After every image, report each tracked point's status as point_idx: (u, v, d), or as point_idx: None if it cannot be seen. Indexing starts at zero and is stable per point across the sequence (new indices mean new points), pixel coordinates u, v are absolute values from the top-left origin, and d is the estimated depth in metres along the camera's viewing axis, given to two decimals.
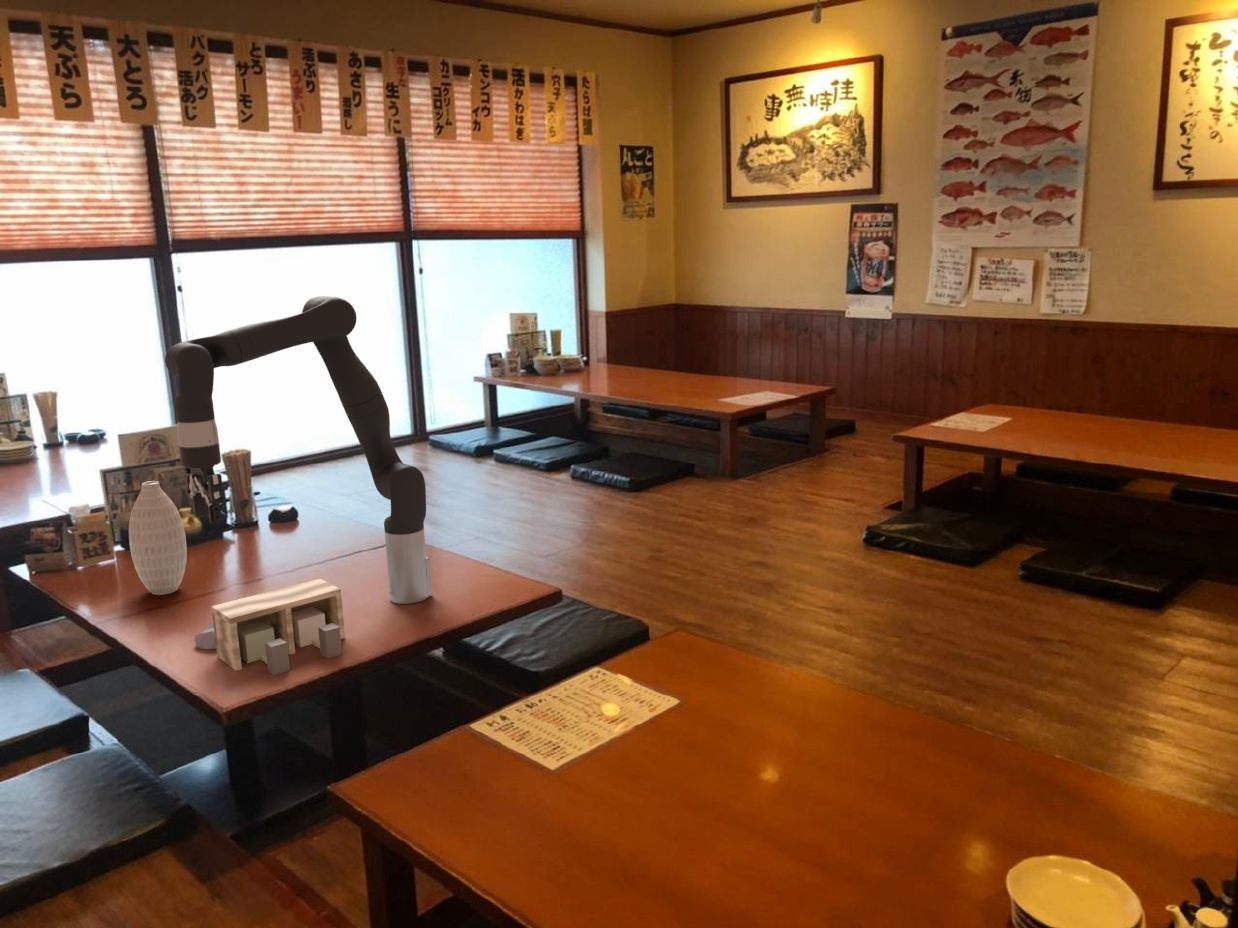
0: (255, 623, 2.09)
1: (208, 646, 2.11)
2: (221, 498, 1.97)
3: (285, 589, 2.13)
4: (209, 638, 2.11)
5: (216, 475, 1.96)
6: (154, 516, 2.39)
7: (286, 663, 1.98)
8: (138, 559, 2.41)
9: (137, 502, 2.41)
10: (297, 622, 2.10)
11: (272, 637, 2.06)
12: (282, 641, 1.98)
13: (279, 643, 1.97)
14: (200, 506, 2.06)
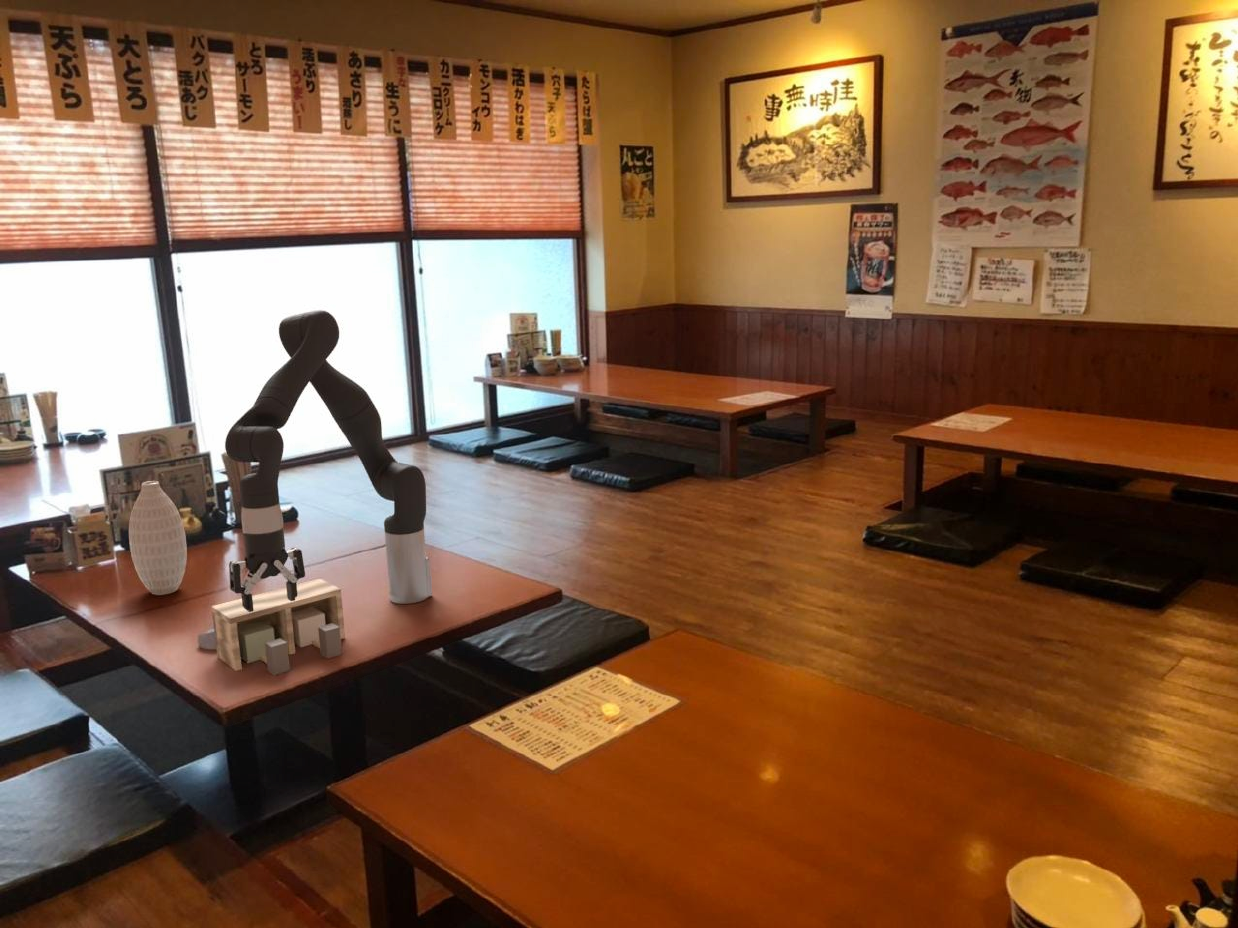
0: (255, 623, 2.09)
1: (211, 646, 2.11)
2: None
3: (285, 589, 2.13)
4: (212, 639, 2.11)
5: None
6: (154, 516, 2.39)
7: (286, 663, 1.98)
8: (138, 559, 2.41)
9: (137, 502, 2.41)
10: (297, 622, 2.10)
11: (272, 637, 2.06)
12: (282, 641, 1.98)
13: (279, 643, 1.97)
14: None
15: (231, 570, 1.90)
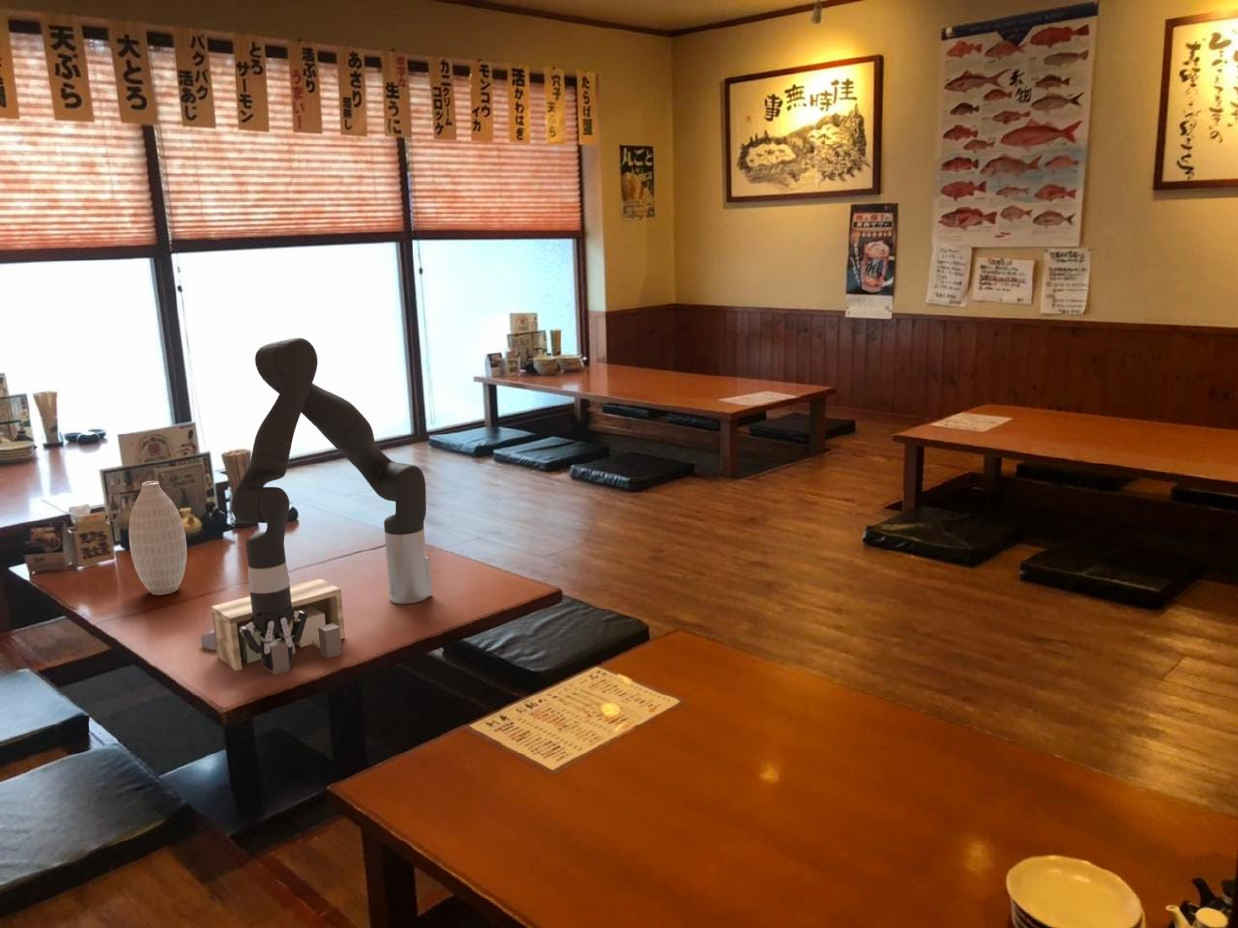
0: None
1: (215, 646, 2.11)
2: (295, 633, 2.01)
3: None
4: None
5: None
6: (154, 516, 2.39)
7: (286, 663, 1.98)
8: (138, 559, 2.41)
9: (137, 502, 2.41)
10: None
11: (272, 637, 2.06)
12: (282, 641, 1.98)
13: (279, 643, 1.97)
14: None
15: (243, 636, 1.93)
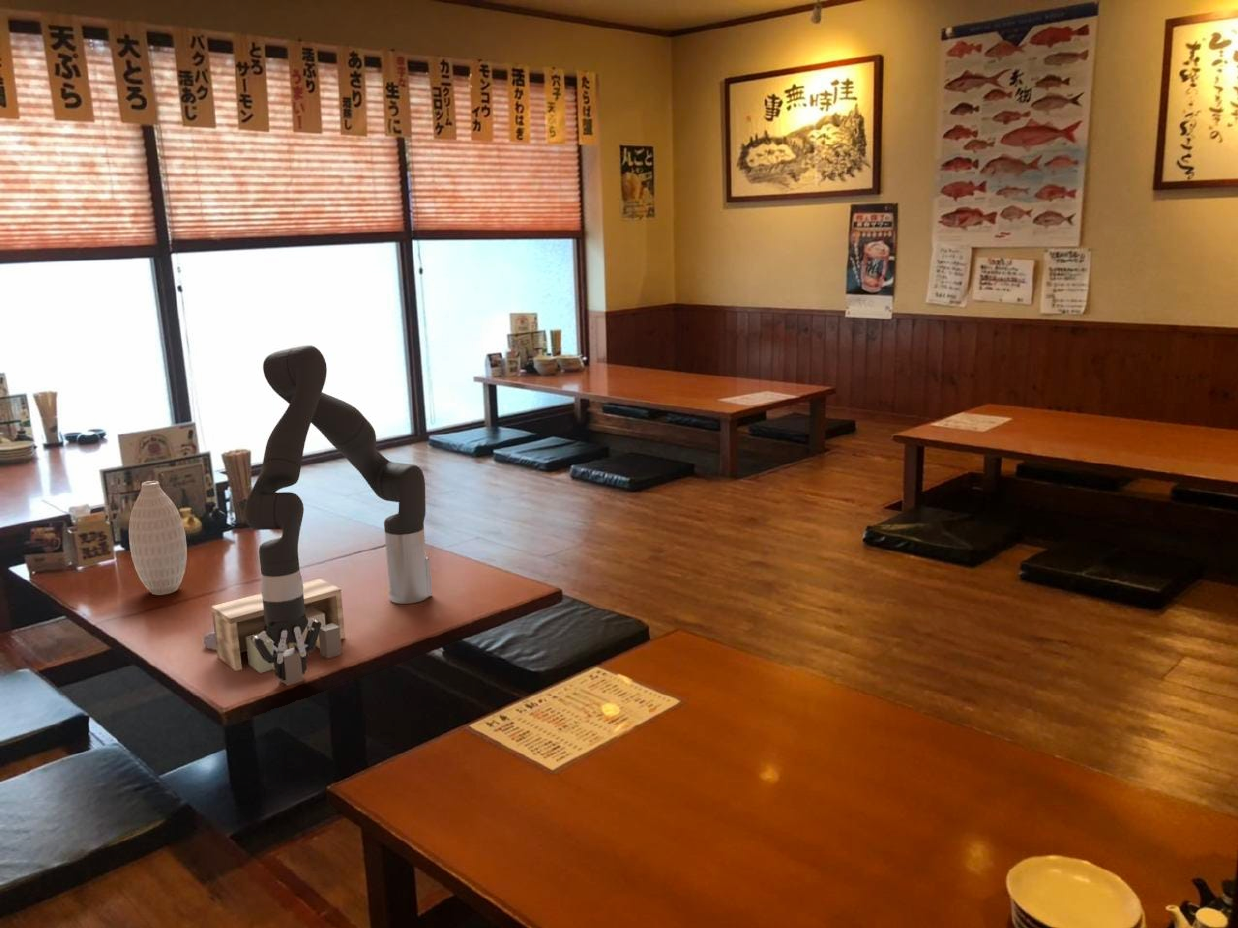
0: None
1: None
2: (309, 643, 1.96)
3: None
4: None
5: None
6: (154, 516, 2.39)
7: (299, 673, 1.93)
8: (138, 559, 2.41)
9: (137, 502, 2.41)
10: None
11: (285, 646, 2.01)
12: (295, 651, 1.93)
13: (292, 653, 1.92)
14: None
15: (256, 645, 1.88)
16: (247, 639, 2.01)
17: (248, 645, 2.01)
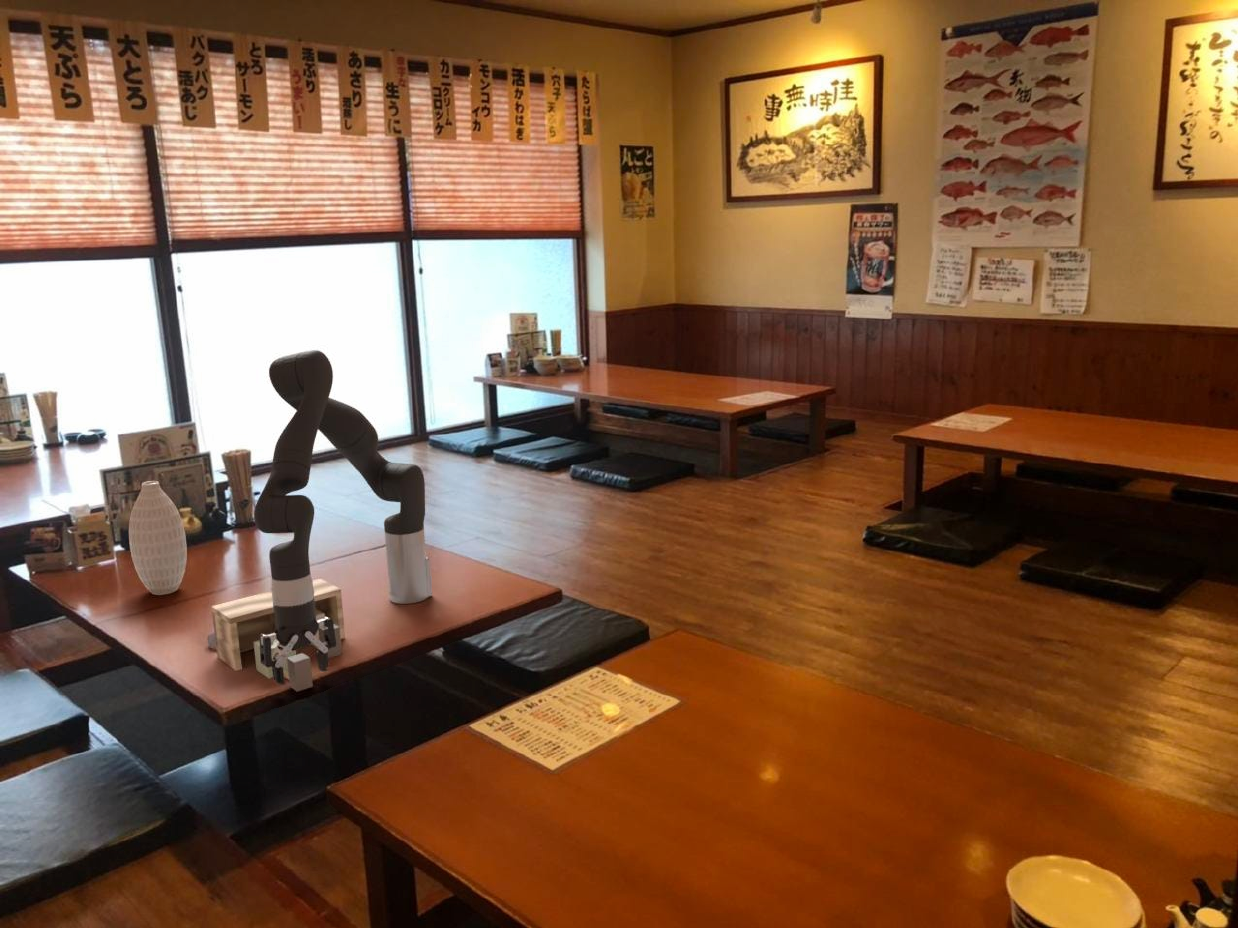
0: None
1: None
2: None
3: None
4: None
5: (327, 617, 1.93)
6: (154, 516, 2.39)
7: (309, 679, 1.90)
8: (138, 559, 2.41)
9: (137, 502, 2.41)
10: None
11: (293, 651, 1.98)
12: (305, 656, 1.90)
13: (301, 659, 1.89)
14: None
15: (261, 643, 1.84)
16: (255, 644, 1.98)
17: (256, 650, 1.98)
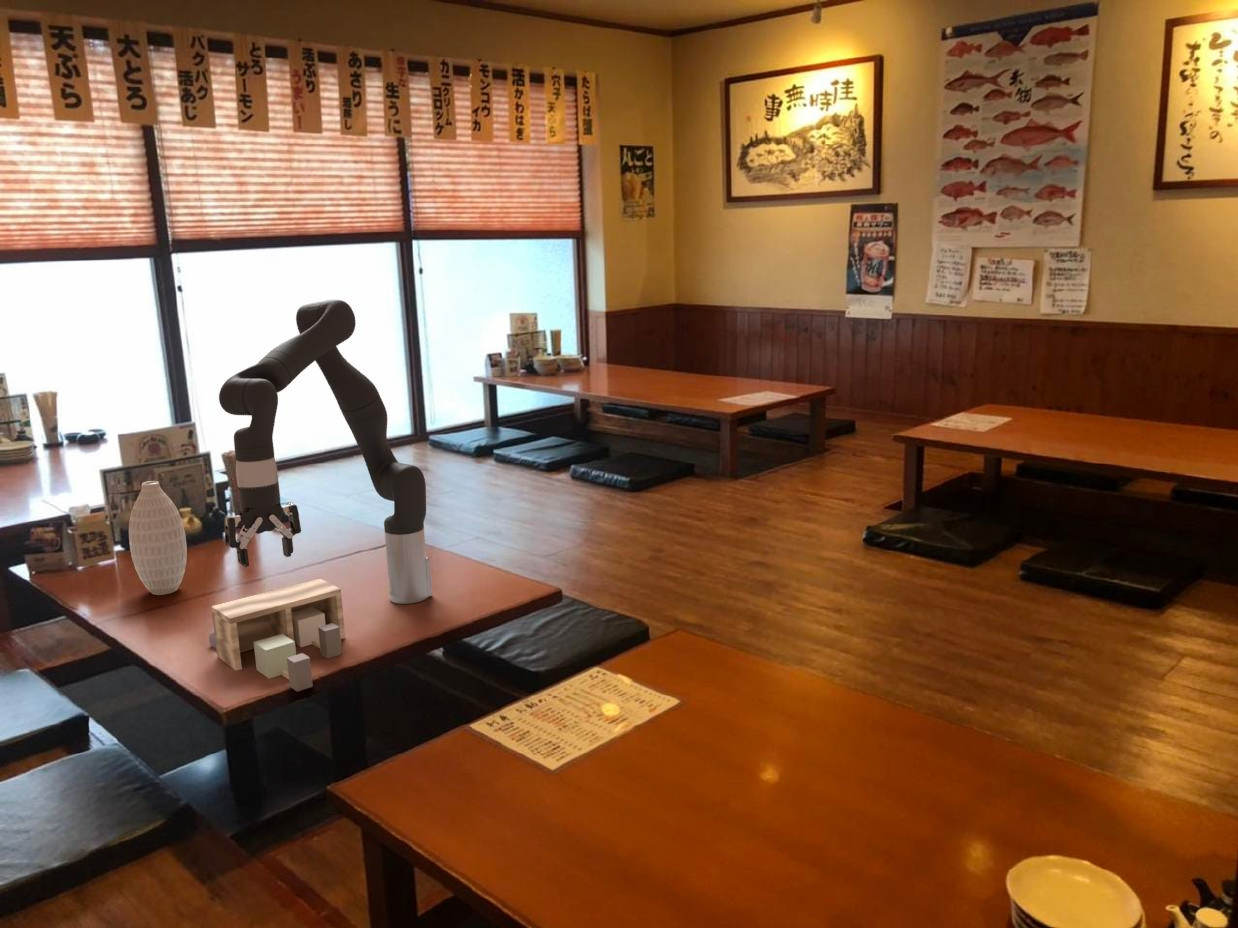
0: (275, 636, 2.01)
1: None
2: None
3: (285, 589, 2.13)
4: None
5: (292, 504, 1.97)
6: (154, 516, 2.39)
7: (309, 679, 1.90)
8: (138, 559, 2.41)
9: (137, 502, 2.41)
10: (297, 622, 2.10)
11: (293, 651, 1.98)
12: (305, 656, 1.90)
13: (301, 659, 1.89)
14: None
15: (226, 524, 1.88)
16: (255, 644, 1.98)
17: (256, 650, 1.98)
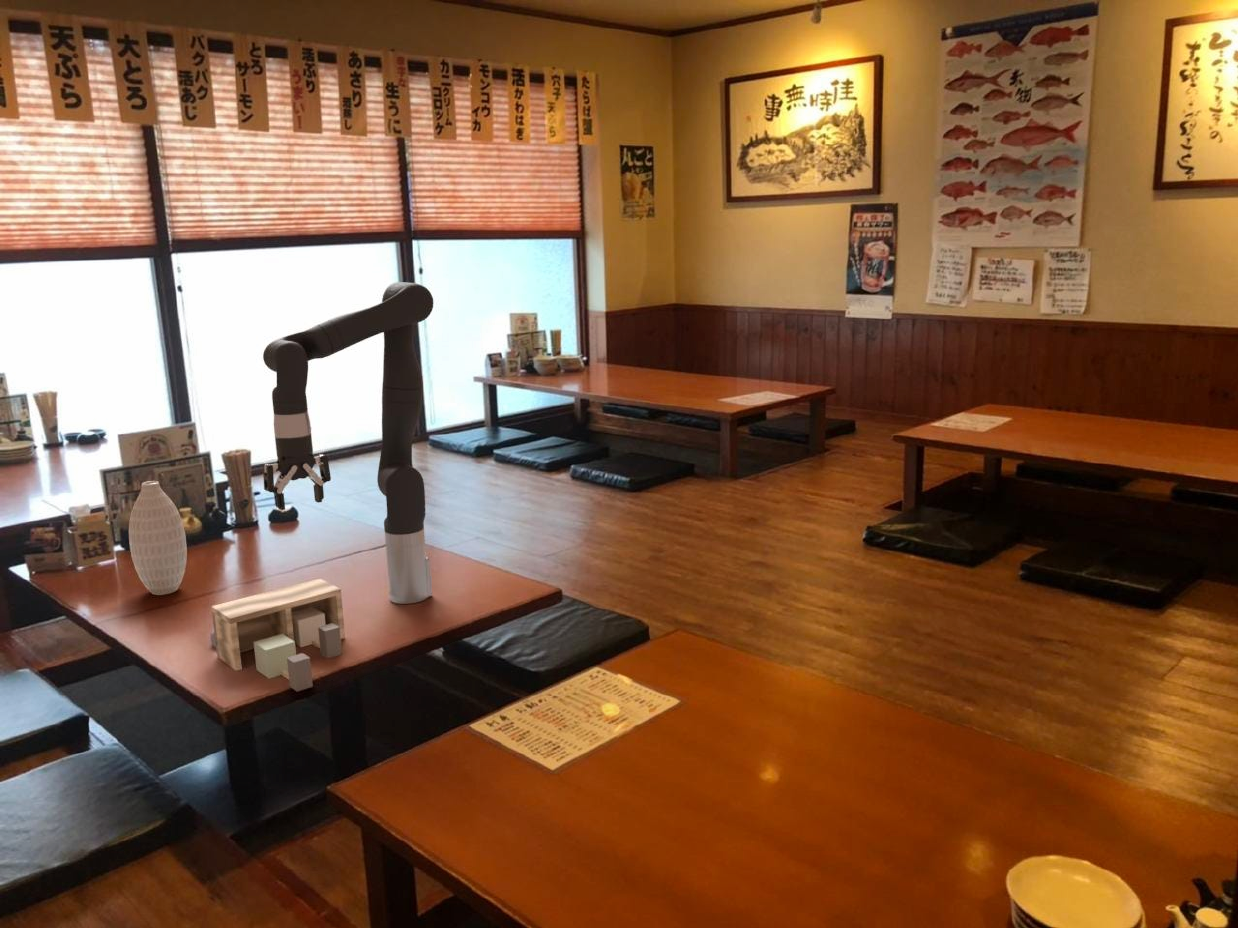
0: (275, 636, 2.01)
1: None
2: None
3: (285, 589, 2.13)
4: None
5: None
6: (154, 516, 2.39)
7: (309, 679, 1.90)
8: (138, 559, 2.41)
9: (137, 502, 2.41)
10: (297, 622, 2.10)
11: (293, 651, 1.98)
12: (305, 656, 1.90)
13: (301, 659, 1.89)
14: None
15: (265, 471, 2.10)
16: (255, 644, 1.98)
17: (256, 650, 1.98)
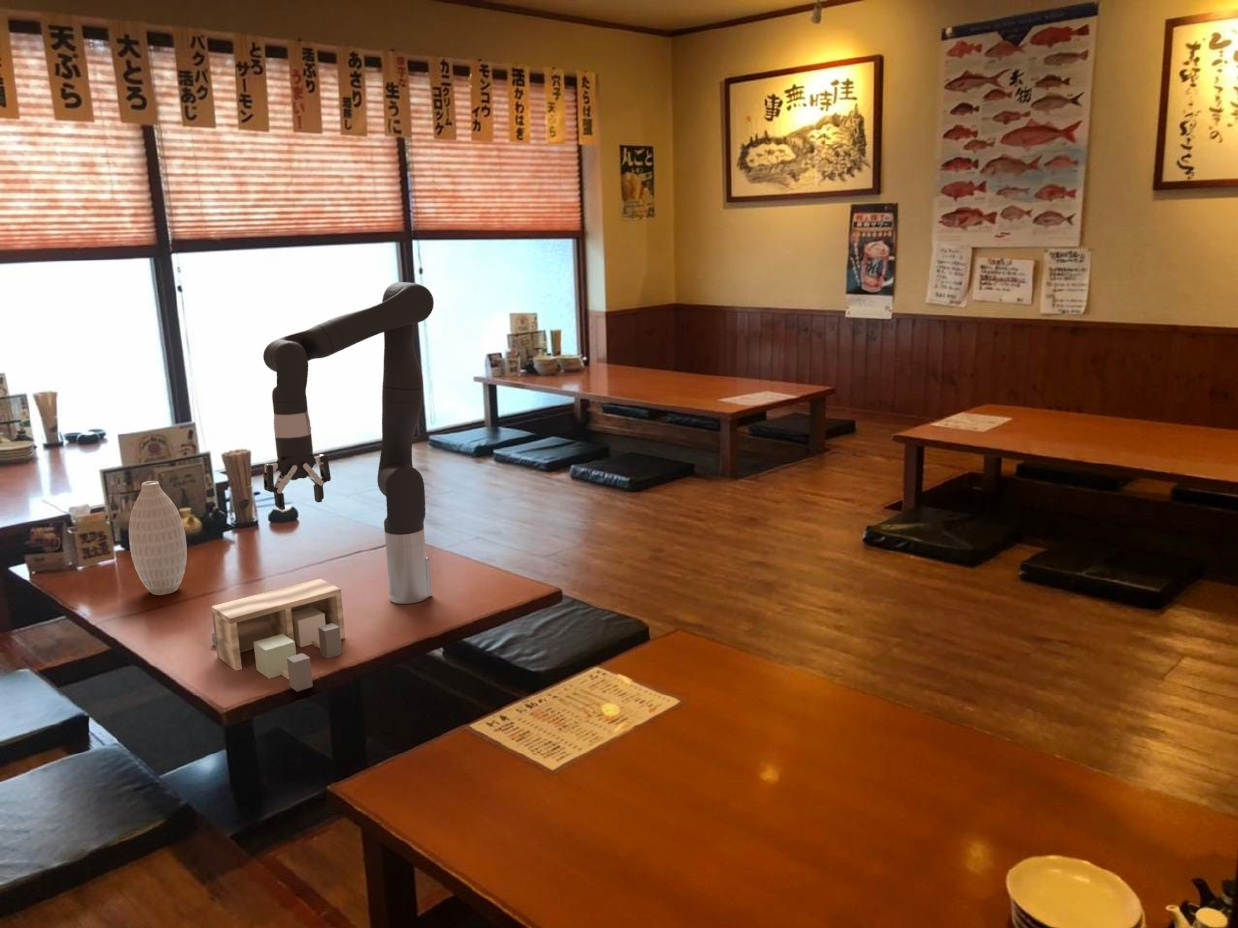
0: (275, 636, 2.01)
1: None
2: None
3: (285, 589, 2.13)
4: None
5: None
6: (154, 516, 2.39)
7: (309, 679, 1.90)
8: (138, 559, 2.41)
9: (137, 502, 2.41)
10: (297, 622, 2.10)
11: (293, 651, 1.98)
12: (305, 656, 1.90)
13: (301, 659, 1.89)
14: None
15: (265, 471, 2.10)
16: (255, 644, 1.98)
17: (256, 650, 1.98)
